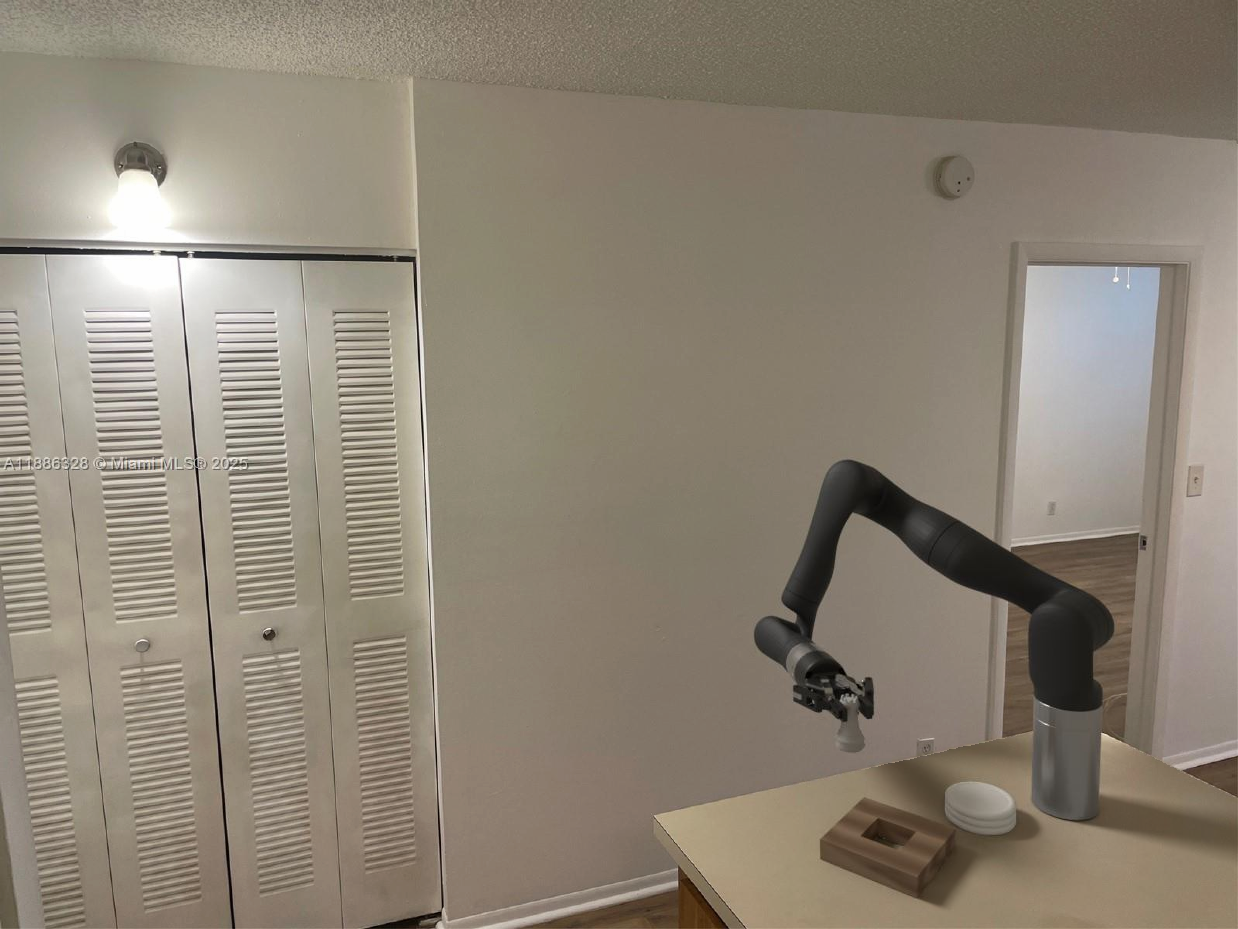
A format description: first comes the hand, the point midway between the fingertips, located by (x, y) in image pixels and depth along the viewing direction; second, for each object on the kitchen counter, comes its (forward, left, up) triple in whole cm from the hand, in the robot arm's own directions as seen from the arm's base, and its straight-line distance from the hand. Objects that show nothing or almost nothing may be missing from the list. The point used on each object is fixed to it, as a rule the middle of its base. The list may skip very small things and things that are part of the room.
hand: (857, 714), depth 125 cm
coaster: (-13, +14, -18) cm, 26 cm away
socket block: (+4, +7, -18) cm, 19 cm away
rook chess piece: (-2, -2, -7) cm, 7 cm away
